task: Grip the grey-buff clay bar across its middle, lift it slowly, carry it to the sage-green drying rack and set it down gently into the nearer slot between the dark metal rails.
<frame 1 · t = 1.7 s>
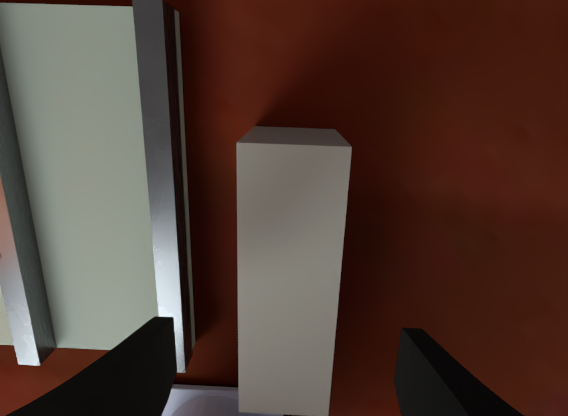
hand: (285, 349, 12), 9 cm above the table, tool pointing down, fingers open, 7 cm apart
clay bar: (290, 238, 20), on the table
rack: (31, 194, 20), on the table
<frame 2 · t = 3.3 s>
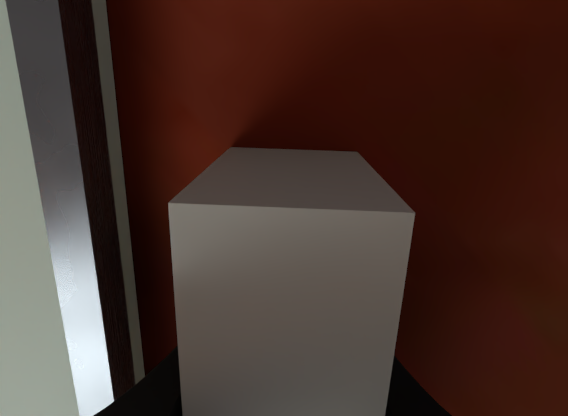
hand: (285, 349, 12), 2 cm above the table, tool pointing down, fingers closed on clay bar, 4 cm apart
clay bar: (287, 313, 14), on the table, touching gripper
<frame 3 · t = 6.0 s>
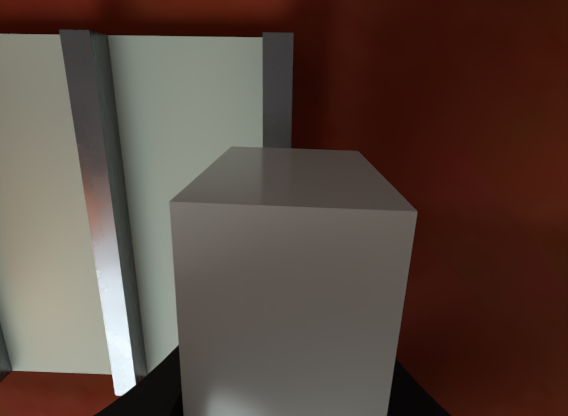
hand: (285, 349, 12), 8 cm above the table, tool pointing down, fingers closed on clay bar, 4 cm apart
clay bar: (287, 312, 14), point 6 cm above the table, touching gripper
rack: (127, 223, 20), on the table
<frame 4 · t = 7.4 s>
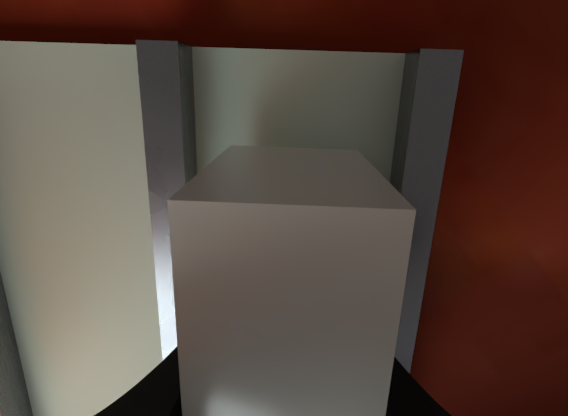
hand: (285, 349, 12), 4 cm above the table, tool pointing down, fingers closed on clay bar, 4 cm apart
clay bar: (287, 312, 14), point 2 cm above the table, touching gripper
rack: (193, 280, 16), on the table
when the fingers open (4 cm above the table, at t = 8.5 s): clay bar stays where it is, resting on rack.
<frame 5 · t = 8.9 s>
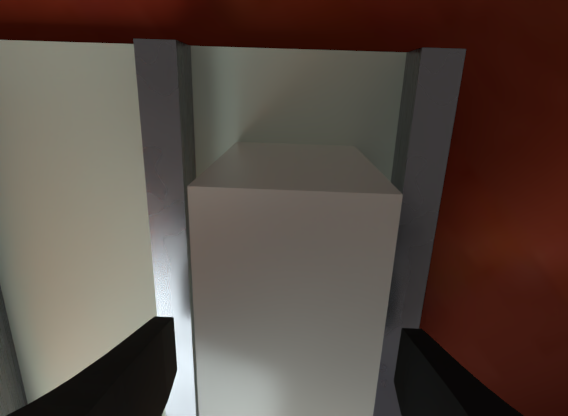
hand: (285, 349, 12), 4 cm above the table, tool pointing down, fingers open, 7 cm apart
clay bar: (289, 298, 14), point 1 cm above the table, touching rack
rack: (192, 281, 15), on the table
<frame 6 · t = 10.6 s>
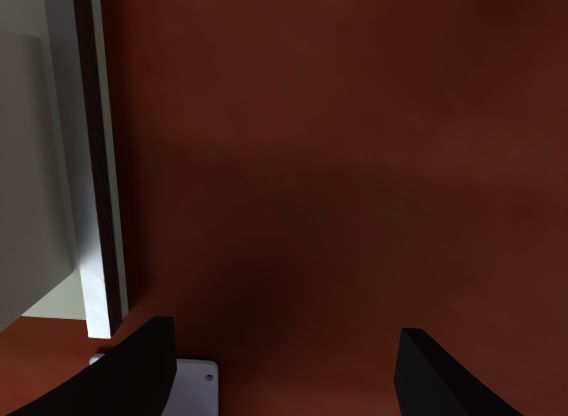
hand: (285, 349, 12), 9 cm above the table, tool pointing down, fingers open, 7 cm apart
clay bar: (19, 164, 19), point 1 cm above the table, touching rack
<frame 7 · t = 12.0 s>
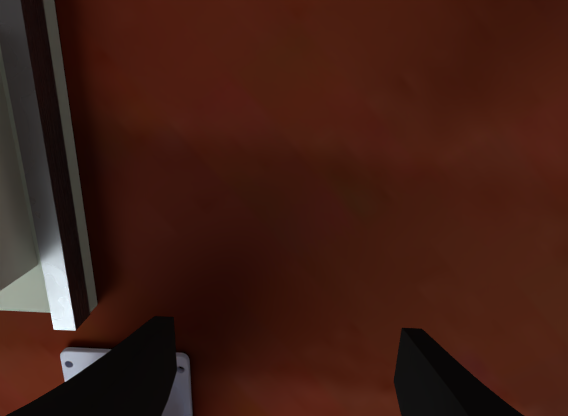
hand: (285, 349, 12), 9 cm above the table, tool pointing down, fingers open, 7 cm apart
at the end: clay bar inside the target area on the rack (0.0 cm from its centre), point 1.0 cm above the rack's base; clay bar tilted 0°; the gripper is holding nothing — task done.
